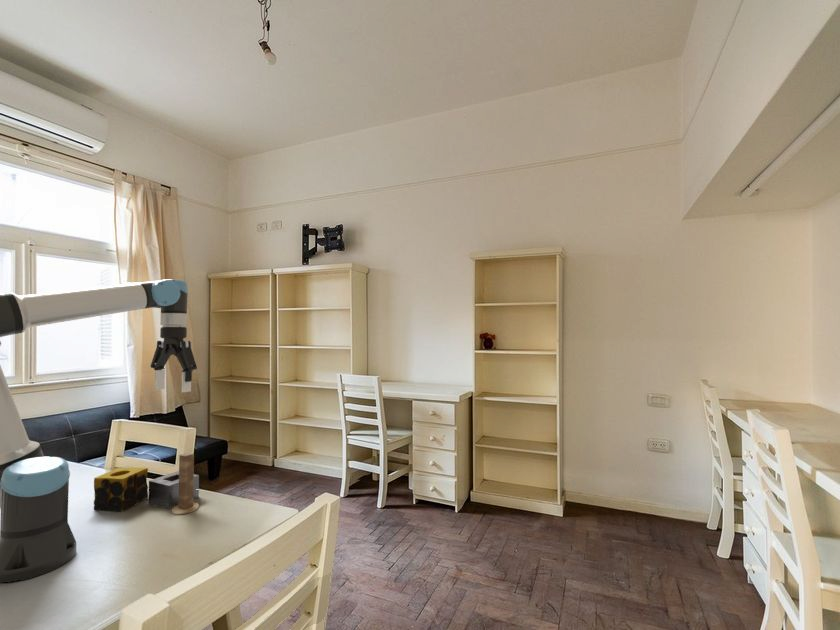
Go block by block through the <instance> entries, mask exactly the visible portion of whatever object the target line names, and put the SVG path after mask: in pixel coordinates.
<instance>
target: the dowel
mask: <svg viewBox="0 0 840 630" xmlns="http://www.w3.org/2000/svg"><path fill="white" fill-rule="evenodd" d="M178 461H179V463H178V471H179V509H183V510H186V509H188V508H190V507H193V503H194V499H193V489H194V474H195V470H194V469H195V454H194V453H192V452H186V453H182V454H179V458H178Z"/></svg>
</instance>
